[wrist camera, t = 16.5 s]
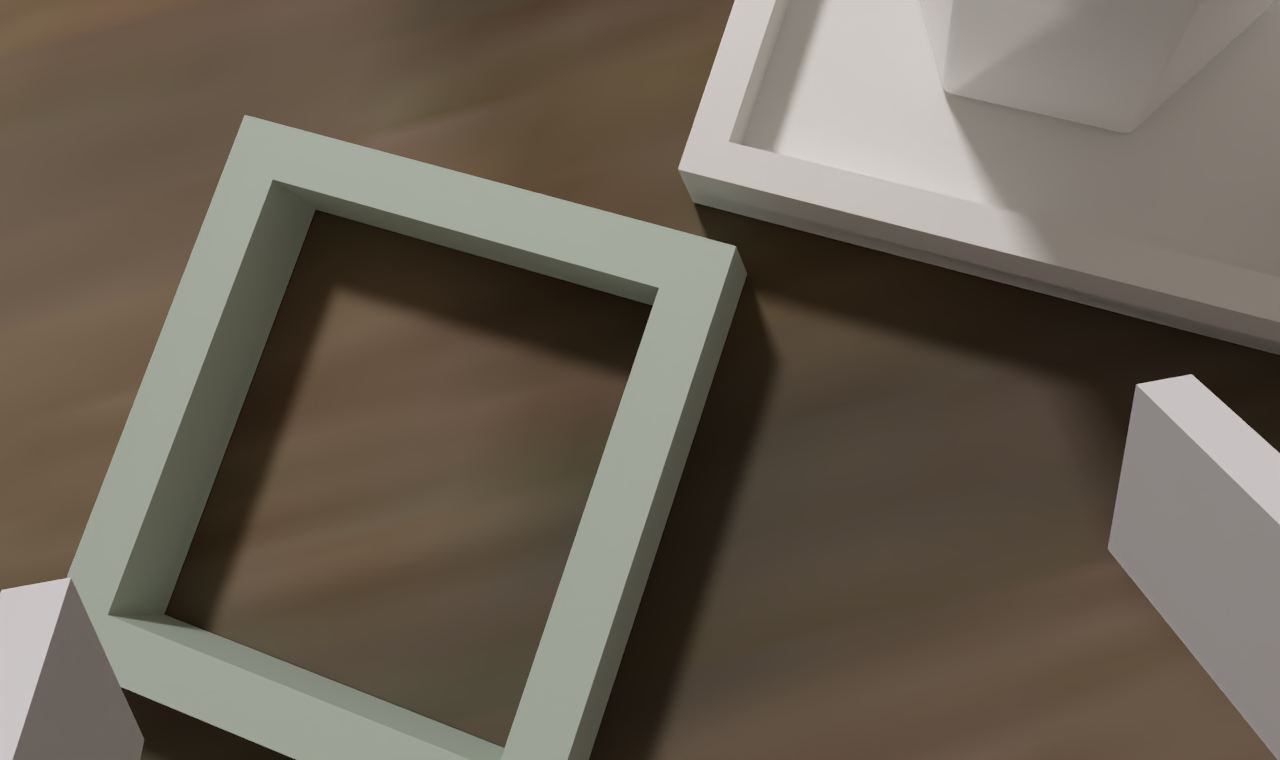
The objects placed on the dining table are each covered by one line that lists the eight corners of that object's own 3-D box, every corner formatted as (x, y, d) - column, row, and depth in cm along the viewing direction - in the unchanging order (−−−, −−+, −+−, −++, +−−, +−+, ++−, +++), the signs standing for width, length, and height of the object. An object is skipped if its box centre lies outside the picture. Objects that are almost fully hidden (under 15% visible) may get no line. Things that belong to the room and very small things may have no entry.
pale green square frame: (99, 649, 33) (38, 652, 31) (288, 149, 35) (244, 114, 32) (563, 838, 30) (534, 858, 27) (747, 273, 31) (736, 246, 29)
